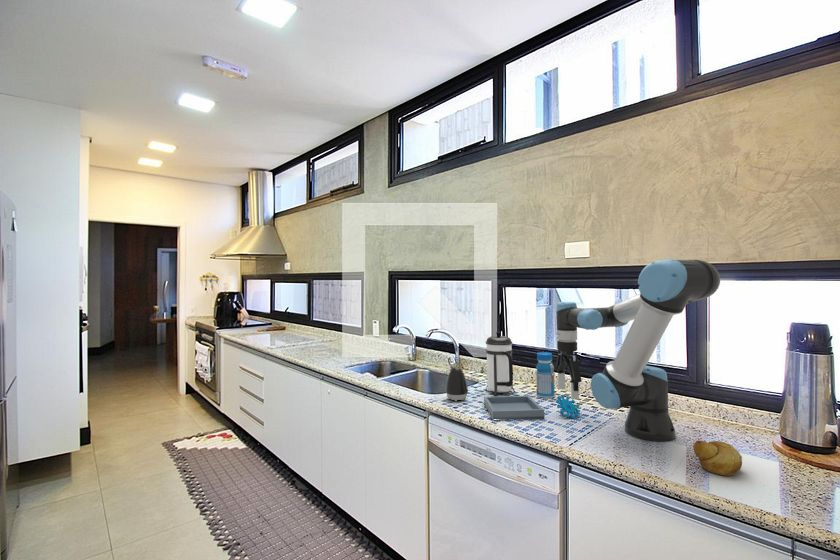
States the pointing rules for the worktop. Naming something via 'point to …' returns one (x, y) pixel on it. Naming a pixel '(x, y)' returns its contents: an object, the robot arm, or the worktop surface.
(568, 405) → the gear
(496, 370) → the coffee press
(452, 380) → the pump dispenser
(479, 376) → the worktop surface
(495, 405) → the tray
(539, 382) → the beverage bottle
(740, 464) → the bread roll
